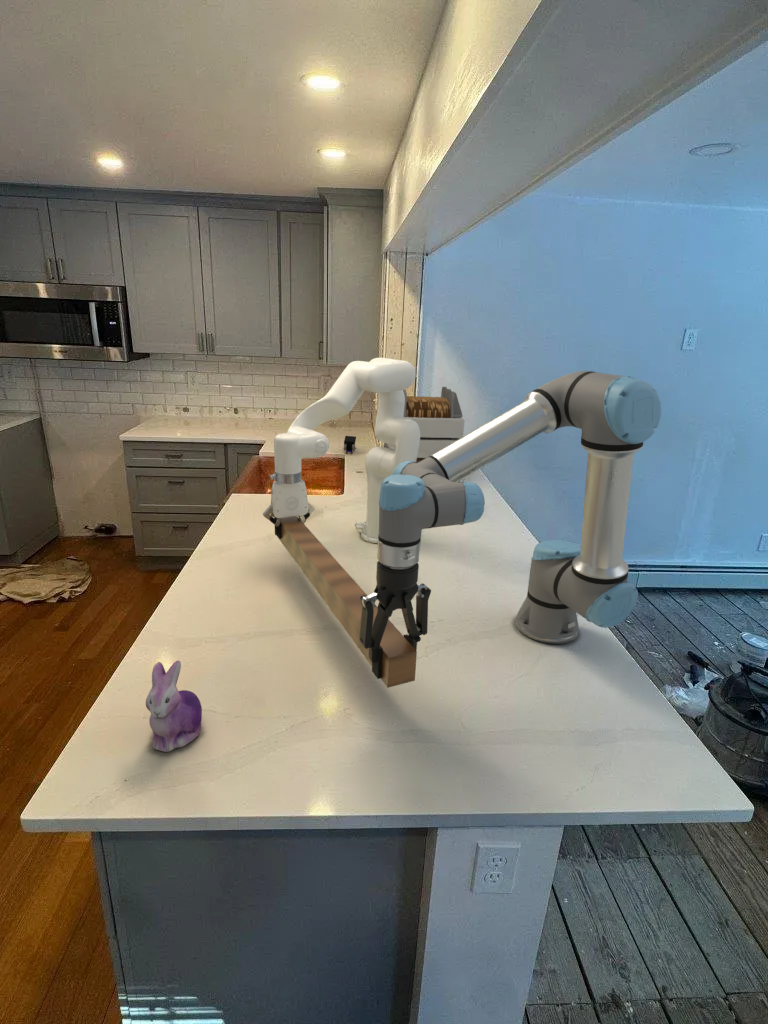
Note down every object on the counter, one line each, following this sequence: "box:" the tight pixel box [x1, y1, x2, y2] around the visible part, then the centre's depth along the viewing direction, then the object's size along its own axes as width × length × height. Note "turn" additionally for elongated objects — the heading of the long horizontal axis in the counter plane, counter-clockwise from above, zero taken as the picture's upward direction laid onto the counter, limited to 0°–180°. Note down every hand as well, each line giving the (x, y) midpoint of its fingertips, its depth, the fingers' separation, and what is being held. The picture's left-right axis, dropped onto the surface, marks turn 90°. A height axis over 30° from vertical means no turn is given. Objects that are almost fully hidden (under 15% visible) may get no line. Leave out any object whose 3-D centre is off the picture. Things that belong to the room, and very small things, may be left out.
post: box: [278, 516, 418, 689], centre depth 138 cm, size 78×6×6 cm, turn 25°
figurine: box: [145, 660, 203, 753], centre depth 100 cm, size 9×10×15 cm
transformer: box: [383, 386, 465, 483], centre depth 268 cm, size 34×33×41 cm
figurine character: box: [343, 435, 357, 455], centre depth 308 cm, size 7×8×15 cm
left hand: (289, 535), depth 168 cm, fingers closed on post, 5 cm apart
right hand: (391, 670), depth 109 cm, fingers closed on post, 6 cm apart
